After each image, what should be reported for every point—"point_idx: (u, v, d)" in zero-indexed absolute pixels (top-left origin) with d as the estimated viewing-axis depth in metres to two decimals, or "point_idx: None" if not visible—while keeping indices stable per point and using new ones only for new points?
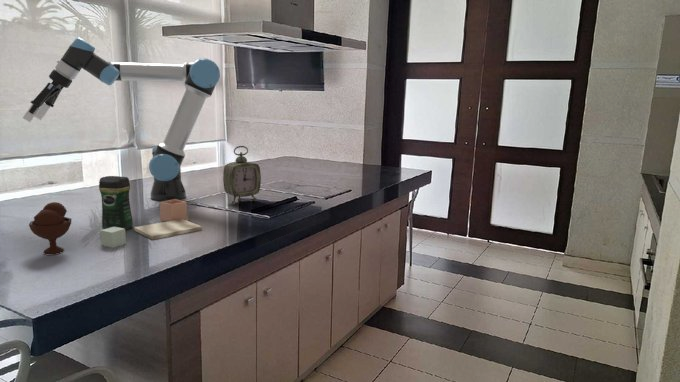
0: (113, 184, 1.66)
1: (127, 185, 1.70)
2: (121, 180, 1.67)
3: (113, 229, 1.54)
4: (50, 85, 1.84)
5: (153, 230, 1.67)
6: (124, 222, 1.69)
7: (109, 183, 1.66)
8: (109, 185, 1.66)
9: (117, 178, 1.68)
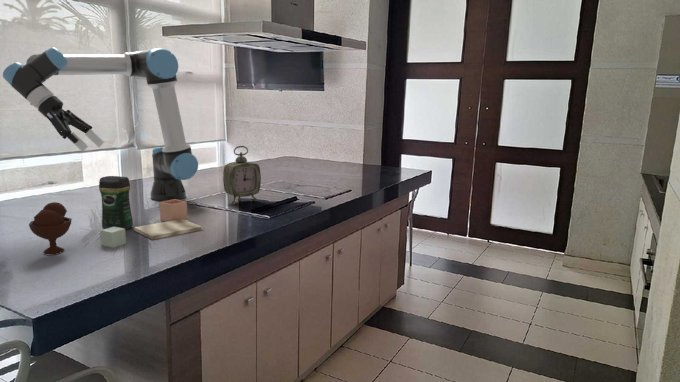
0: (113, 184, 1.66)
1: (127, 185, 1.70)
2: (121, 180, 1.67)
3: (113, 229, 1.54)
4: (48, 114, 1.64)
5: (153, 230, 1.67)
6: (124, 222, 1.69)
7: (109, 183, 1.66)
8: (109, 185, 1.66)
9: (117, 178, 1.68)
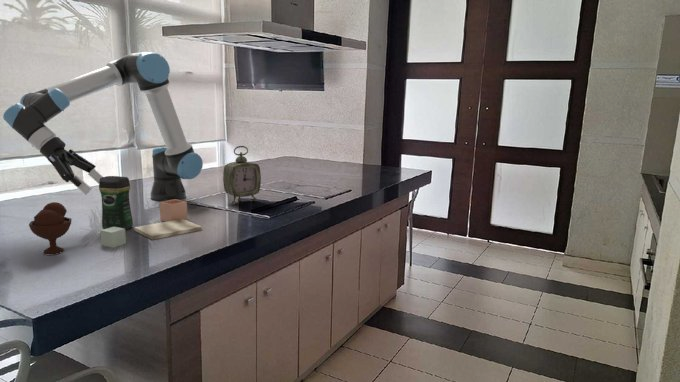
0: (113, 184, 1.66)
1: (127, 185, 1.70)
2: (121, 180, 1.67)
3: (113, 229, 1.54)
4: (50, 158, 1.59)
5: (153, 230, 1.67)
6: (124, 222, 1.69)
7: (109, 183, 1.66)
8: (109, 185, 1.66)
9: (117, 178, 1.68)
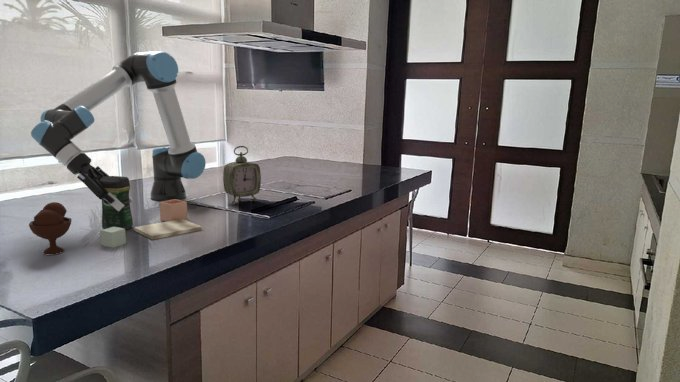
0: (113, 184, 1.66)
1: (127, 185, 1.70)
2: (121, 180, 1.67)
3: (113, 229, 1.54)
4: (80, 176, 1.62)
5: (153, 230, 1.67)
6: (124, 222, 1.69)
7: (109, 183, 1.66)
8: (109, 185, 1.66)
9: (117, 178, 1.68)
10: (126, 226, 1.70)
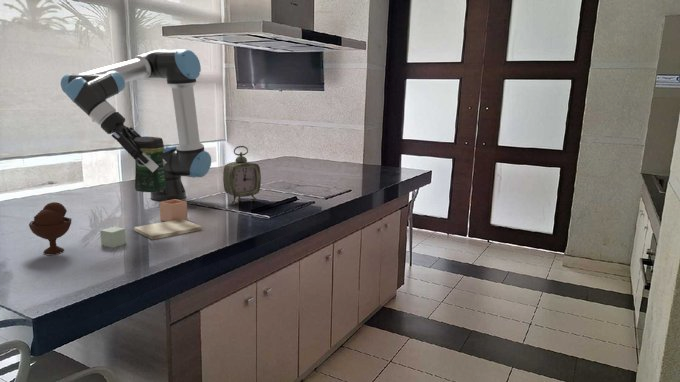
0: (148, 144, 1.61)
1: (161, 145, 1.65)
2: (155, 140, 1.62)
3: (113, 229, 1.54)
4: (115, 134, 1.57)
5: (153, 230, 1.67)
6: (157, 184, 1.64)
7: (143, 142, 1.61)
8: (144, 145, 1.61)
9: (152, 138, 1.63)
10: (160, 188, 1.65)
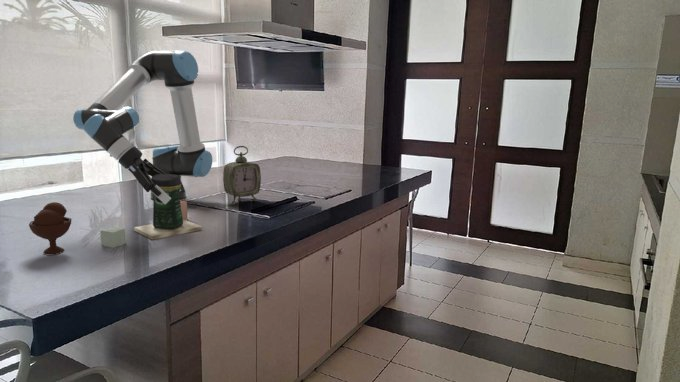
0: (166, 182, 1.65)
1: (179, 183, 1.68)
2: (174, 178, 1.66)
3: (113, 229, 1.54)
4: (131, 168, 1.60)
5: (153, 230, 1.67)
6: (176, 221, 1.68)
7: (162, 181, 1.65)
8: (162, 183, 1.65)
9: (170, 176, 1.66)
10: (178, 225, 1.69)
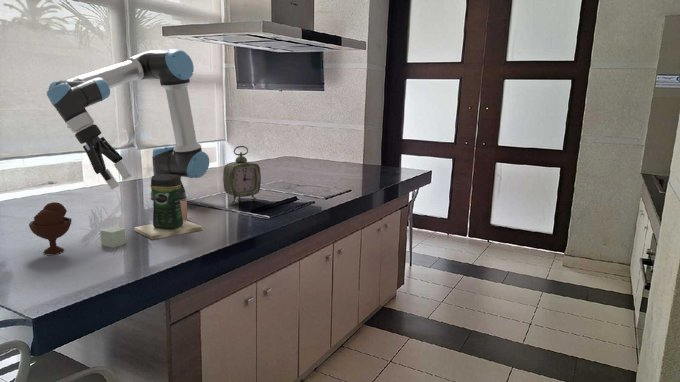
0: (166, 182, 1.65)
1: (179, 183, 1.68)
2: (174, 178, 1.66)
3: (113, 229, 1.54)
4: (86, 146, 1.58)
5: (153, 230, 1.67)
6: (176, 221, 1.68)
7: (162, 181, 1.65)
8: (162, 183, 1.65)
9: (170, 176, 1.66)
10: (178, 225, 1.69)
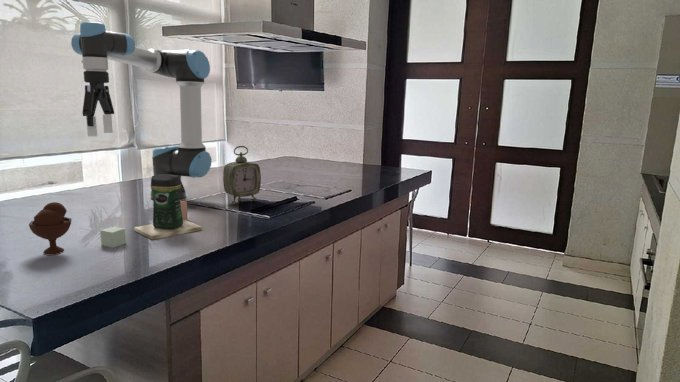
0: (166, 182, 1.65)
1: (179, 183, 1.68)
2: (174, 178, 1.66)
3: (113, 229, 1.54)
4: (88, 87, 1.58)
5: (153, 230, 1.67)
6: (176, 221, 1.68)
7: (162, 181, 1.65)
8: (162, 183, 1.65)
9: (170, 176, 1.66)
10: (178, 225, 1.69)
